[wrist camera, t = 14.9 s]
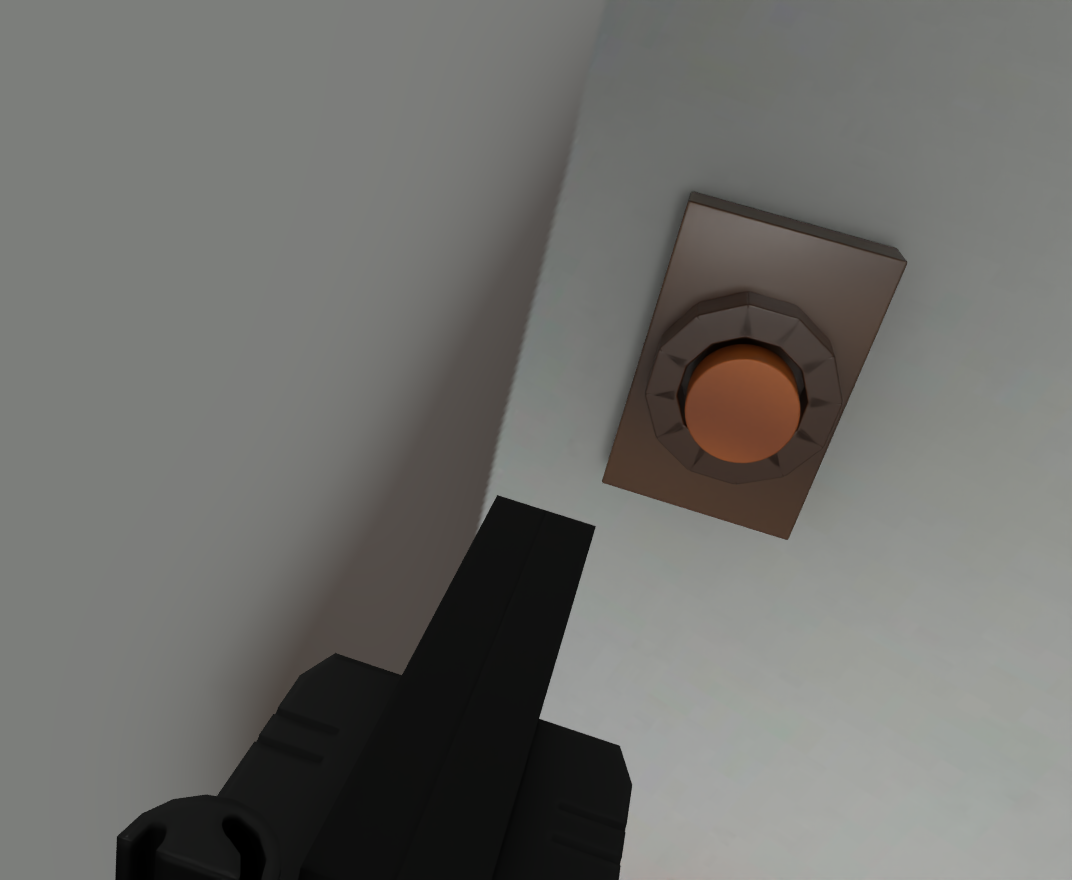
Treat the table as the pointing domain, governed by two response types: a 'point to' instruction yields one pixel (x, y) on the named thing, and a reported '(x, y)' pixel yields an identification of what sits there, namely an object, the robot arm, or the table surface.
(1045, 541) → the table surface
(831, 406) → the button block
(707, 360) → the button
